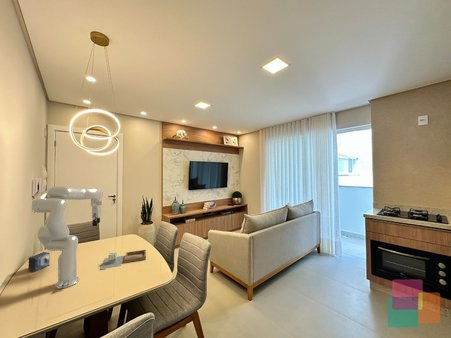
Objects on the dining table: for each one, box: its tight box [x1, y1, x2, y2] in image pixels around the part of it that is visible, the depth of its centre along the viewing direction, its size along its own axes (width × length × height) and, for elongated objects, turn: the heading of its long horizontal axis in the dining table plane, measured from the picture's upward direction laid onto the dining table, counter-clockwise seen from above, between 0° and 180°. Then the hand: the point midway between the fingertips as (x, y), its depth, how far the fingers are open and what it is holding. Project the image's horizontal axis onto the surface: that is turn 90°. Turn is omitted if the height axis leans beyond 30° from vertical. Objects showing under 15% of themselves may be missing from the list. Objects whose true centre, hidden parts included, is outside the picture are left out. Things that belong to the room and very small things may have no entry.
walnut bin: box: [123, 249, 147, 264], centre depth 167 cm, size 16×16×3 cm
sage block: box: [107, 251, 118, 264], centre depth 159 cm, size 5×5×7 cm
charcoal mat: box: [99, 255, 125, 271], centre depth 159 cm, size 20×14×1 cm
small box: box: [27, 251, 51, 273], centre depth 150 cm, size 11×6×10 cm, turn 168°
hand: (96, 224), depth 162 cm, fingers open, 9 cm apart
